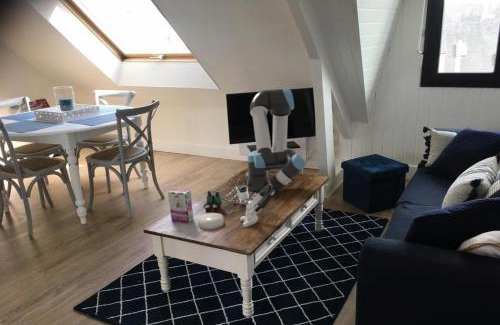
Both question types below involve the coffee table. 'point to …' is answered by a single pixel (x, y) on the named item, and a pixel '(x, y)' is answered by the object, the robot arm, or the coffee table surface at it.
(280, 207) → the coffee table surface
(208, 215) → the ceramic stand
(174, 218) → the candy bar box
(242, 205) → the coffee table surface
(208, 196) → the green bottle cruet set
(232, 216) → the coffee table surface
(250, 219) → the white creature statuette
